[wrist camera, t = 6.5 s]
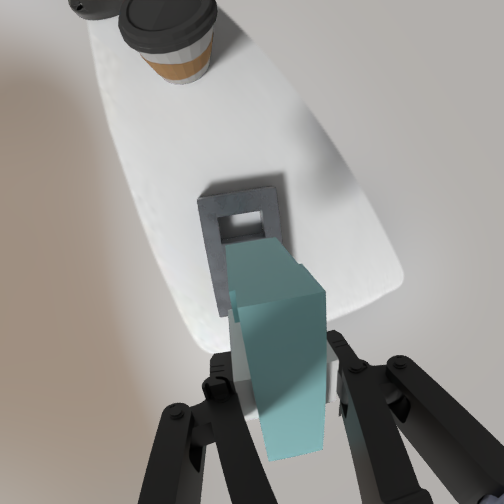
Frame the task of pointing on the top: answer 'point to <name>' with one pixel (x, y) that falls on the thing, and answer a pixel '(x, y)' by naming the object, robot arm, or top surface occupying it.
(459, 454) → the robot arm
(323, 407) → the teal u-shaped block
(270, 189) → the grey slotted slab
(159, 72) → the coffee cup
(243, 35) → the top surface
